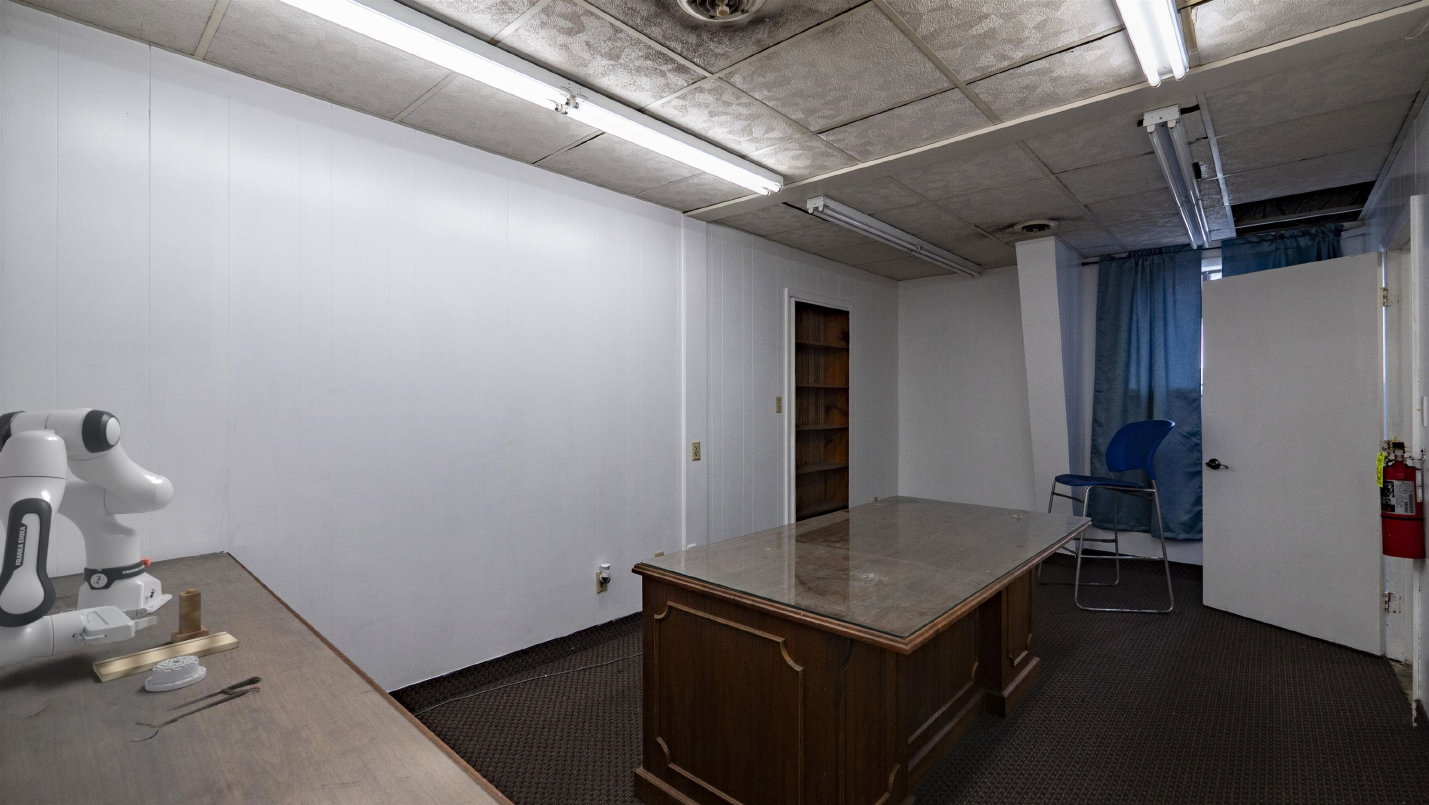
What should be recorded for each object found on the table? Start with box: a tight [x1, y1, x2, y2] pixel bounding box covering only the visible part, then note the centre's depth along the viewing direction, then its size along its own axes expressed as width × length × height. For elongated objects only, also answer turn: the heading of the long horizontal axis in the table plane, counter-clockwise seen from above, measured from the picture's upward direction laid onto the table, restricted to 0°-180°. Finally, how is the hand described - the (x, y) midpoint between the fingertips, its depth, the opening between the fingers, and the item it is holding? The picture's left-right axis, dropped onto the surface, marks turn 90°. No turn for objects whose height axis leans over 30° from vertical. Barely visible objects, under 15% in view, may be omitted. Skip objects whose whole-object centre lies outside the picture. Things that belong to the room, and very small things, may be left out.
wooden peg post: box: [170, 588, 210, 643], centre depth 156 cm, size 6×6×13 cm
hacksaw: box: [129, 676, 262, 743], centre depth 122 cm, size 24×10×2 cm, turn 151°
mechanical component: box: [144, 655, 207, 692], centre depth 134 cm, size 10×4×10 cm
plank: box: [92, 631, 240, 683], centre depth 146 cm, size 24×10×2 cm, turn 143°
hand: (151, 615), depth 150 cm, fingers open, 8 cm apart
